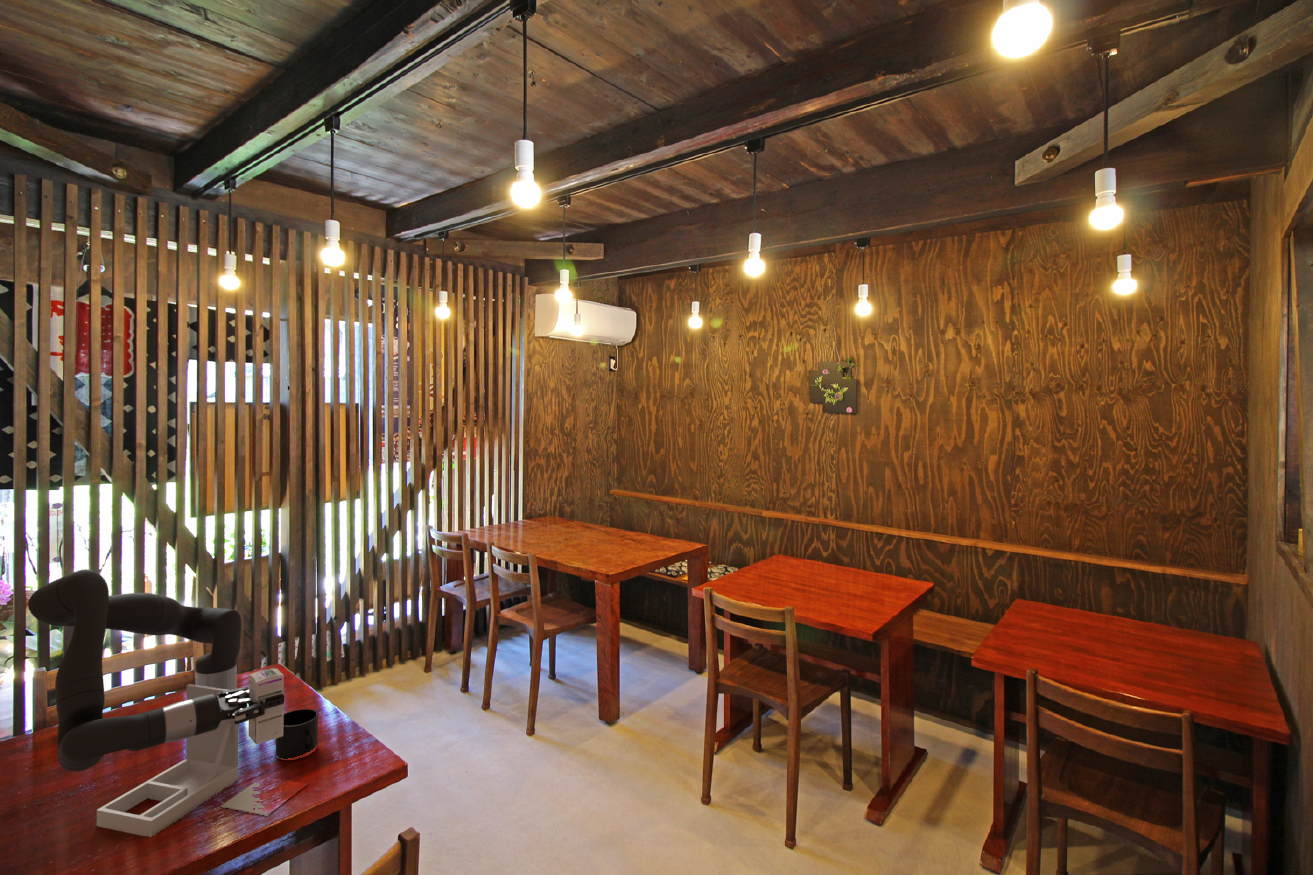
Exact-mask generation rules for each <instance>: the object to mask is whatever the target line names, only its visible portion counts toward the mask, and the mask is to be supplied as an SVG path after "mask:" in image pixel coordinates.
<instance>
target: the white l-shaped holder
mask: <svg viewBox="0 0 1313 875" xmlns="http://www.w3.org/2000/svg"><path fill="white" fill-rule="evenodd" d="M222 691H227V689H220V688H214V687H207V686H200V685H195V684H194V683H192V684H191V683H189V684H187V685H186V700H189V699H193V698H196V697H200V696H204V695H208V694H215V695H216V696H217V698H218V693H219V692H222ZM239 726H240V724H234V719H230V720H222V721H221V722H220V723H219V727H218V728H217V729H216V730H213V731H209V732H206V733H202V734H199V735H196V736H192V737H189V738H185V740H186V742H185V743H186V744H185V746H186V747H185V750H186V751H185V754H186V755H185V759H184V760H181V761H180V762H177V763H176V764H175V765H173V766H171V767H170V768H168V769H166V770H164V771H162V772H161V773H159V774H157V775H156V776H154V777H151V778H150V779H148V780H146V781H144V782H143V783H142V784H139V785H138V786H136V787H134V788H133V789H131V790H129V791H127V792H125V793H124V794H123V795H120V796H119V797H117V798H115V799H114V800H111V801H110V802H108V803H107V804H105V805H103V806H101V807H99V808H98V809H96V827H99V828H105V829H108V830H114V831H117V832H122V831H123V833H127V834H128V833H129V834H132V835H137V836H141V837H146V836H147V837H146V838H151V837H152V836H153V837H154V836H156V835H157V833H158V832H159V833H160V831H161V830H162V829H164V830H165V829H167V828H168V827H170V826H171V825H173V824H174V823H176V822H177V821H179V820H180V819H181V818H183V817H185V816H186V815H188V814H190V813H191V812H192V811H193V809H194V808H195V809H197V808H198V807H200V806H201V805H202V803H203V802H204V801H206V802H207V801H209V800H211V799H212V798H213V797H215V796H216V795H218V794H219V793H221V792H222V791H224V790H225V789H226V788H225V787H227V788H229V787H230V786H231V785H233V784H234V783H236V782H237V781H239ZM236 780H237V781H236ZM235 781H236V782H235ZM233 782H234V783H233ZM232 783H233V784H232ZM224 788H225V789H224ZM223 789H224V790H223ZM220 791H221V792H220ZM218 792H219V793H218ZM217 793H218V794H217ZM215 794H216V795H215ZM214 795H215V796H214ZM212 796H213V797H212ZM211 797H212V798H211ZM147 799H148V800H155V801H160V802H159V803H157V804H155V805H154V806H153V807H150V808H149V809H148V810H146V811H144V812H142V813H141V814H134V813H130V812H127V811H128V810H131V809H133V808H134V807H135V806H137V805H139V804H140V803H142V802H144V801H145V800H147ZM208 799H209V800H208ZM204 803H205V802H204ZM204 803H203V804H204ZM200 804H201V805H200ZM199 805H200V806H199ZM197 806H198V807H197ZM195 809H194V810H195ZM190 811H191V812H190ZM184 815H185V816H184ZM178 819H179V820H178ZM173 822H174V823H173ZM172 823H173V824H172ZM170 824H171V825H170ZM169 825H170V826H169ZM166 827H167V828H166ZM162 831H163V830H162ZM162 831H161V832H162ZM159 833H158V834H159ZM148 836H149V837H148ZM153 837H152V838H153Z"/></svg>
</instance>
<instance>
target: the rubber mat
mask: <svg viewBox="0 0 1313 875" xmlns="http://www.w3.org/2000/svg"><path fill="white" fill-rule="evenodd" d="M259 786H260V784H259V783H256V781H254V783H251V785H249V786H248V787H246V788H245V789H243V790H242V791H240V792H239V793H237V794H235V795H234V796H233V797H231V798H230V799H229V800H227V801H225V802H224V803H222V804H221V805H220V808H221V807H222V808H221V809H225V808H229V809H228V810H230V809H235V810H243V811H245V812H244V813H246V811H247V812H252V813H257V814H263V815H268V814H267V811H266V813H264V812H262V810H261V809H258V808H264V806H263V805H260V803H257V802H253V801H263V800H260V798H255V797H253V795H252V794H259V793H260V792H258V791H253V788H252V787H259ZM254 790H255V789H254ZM254 805H257V806H254ZM253 808H255V810H253ZM235 810H234V811H235Z"/></svg>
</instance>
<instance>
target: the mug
mask: <svg viewBox="0 0 1313 875" xmlns="http://www.w3.org/2000/svg"><path fill="white" fill-rule="evenodd" d="M318 738H319V713H318V711H317V710H315V709H312V708H300V709H295V710H294V709H293V710H291V711H287V712H285V713H284V725H283V736H282V737H279V738H276V739H275V756H276V755H277V756H278V757H279V758H283V759H288V758H294V757H297V756H300V755H303V754H305V753H307V752H310V751H311V750H313V749H314V748H315V747H316V745H317V744H318V742H319V741H318V740H319V739H318Z"/></svg>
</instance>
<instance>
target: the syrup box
mask: <svg viewBox="0 0 1313 875" xmlns="http://www.w3.org/2000/svg"><path fill="white" fill-rule="evenodd" d="M284 681H285V676H284V674H283V673H282V672H281V671H280V670H279V669H277V667H271V668H265V669H262V670H258V671H255V672H252V673H249V674H248V687H249V698H253V699H254V700H259V699H265V698H268V697H271V696H275V695H279V694H283V695H284V696H285V693H284V691H285V688H284V687H285V686H284V685H285V682H284ZM253 705H255V704H253ZM284 705H285V702H284V703H283V704H282V705H278V706H275V707H271V708H267V709H265V714H264V715H262V716H259V717H256V718H254V719H251V720H248V737H250V739H251V740H252V742H253V743H254V744H256V745H260V744H263V743H266V742H270V741H273V740H276V738H279V737H282V736H283V725H284V714H285V713H284V710H285V708H284V707H285V706H284ZM257 713H258V712H257ZM254 714H255V713H254Z"/></svg>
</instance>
